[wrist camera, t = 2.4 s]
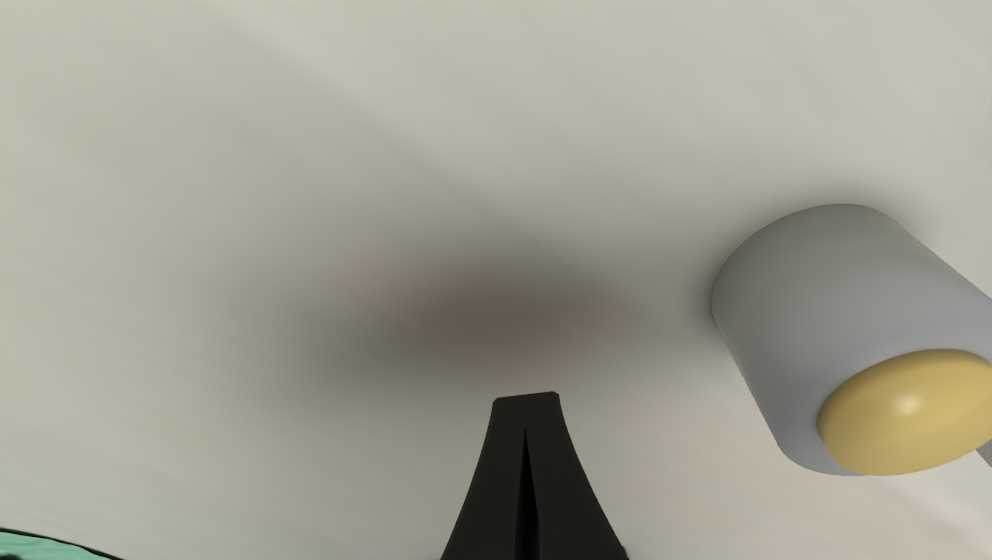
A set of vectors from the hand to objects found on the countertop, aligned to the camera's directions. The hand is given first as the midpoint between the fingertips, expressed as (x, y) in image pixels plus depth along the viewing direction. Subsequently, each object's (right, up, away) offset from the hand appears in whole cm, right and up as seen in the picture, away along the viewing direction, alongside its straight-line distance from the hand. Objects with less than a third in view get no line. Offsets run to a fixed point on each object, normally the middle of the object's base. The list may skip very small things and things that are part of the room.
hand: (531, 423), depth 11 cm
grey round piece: (+7, +3, +2) cm, 8 cm away
